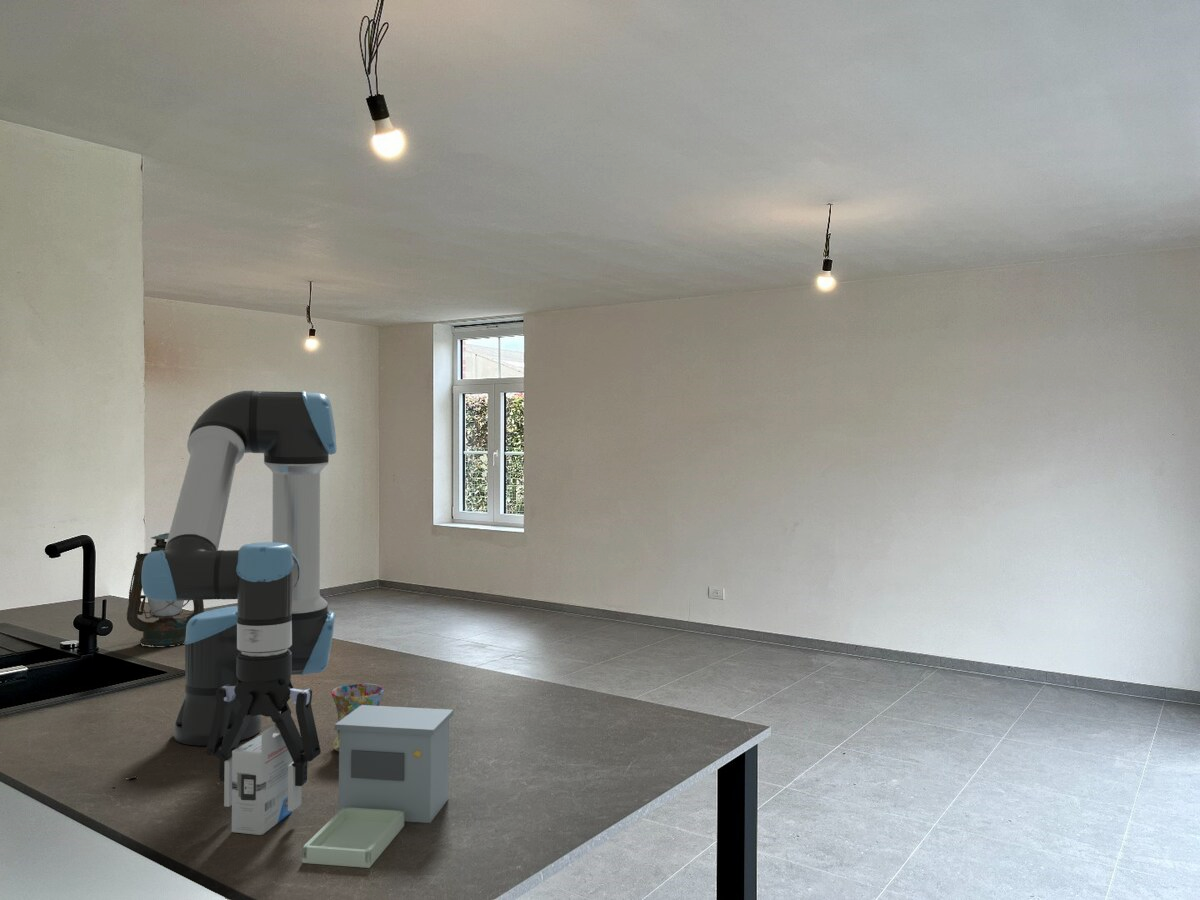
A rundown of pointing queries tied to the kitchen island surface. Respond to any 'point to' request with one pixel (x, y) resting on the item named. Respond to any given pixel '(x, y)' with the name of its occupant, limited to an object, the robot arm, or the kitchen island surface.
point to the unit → (395, 760)
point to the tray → (353, 837)
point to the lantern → (158, 608)
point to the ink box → (260, 783)
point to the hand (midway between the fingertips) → (262, 804)
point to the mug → (354, 700)
